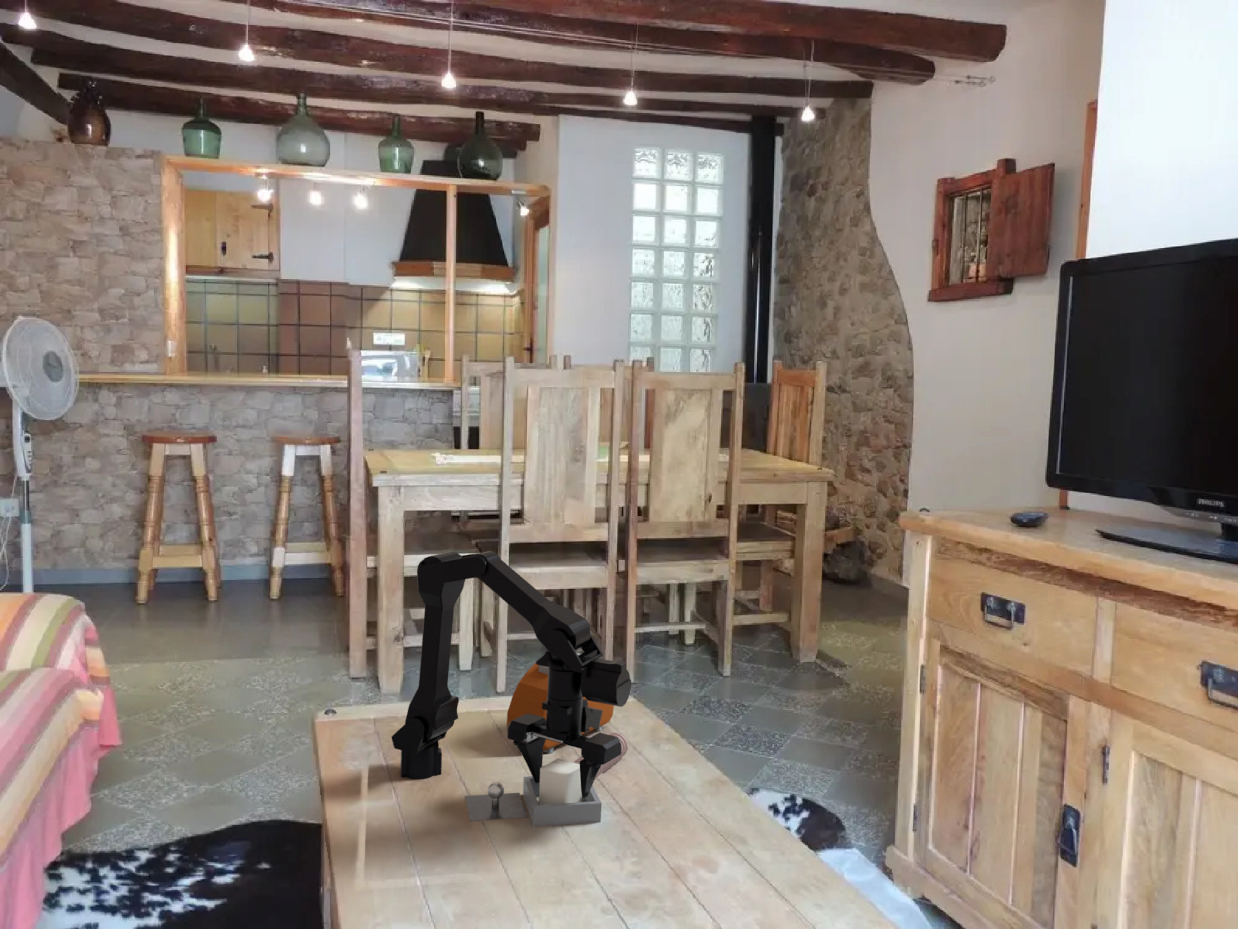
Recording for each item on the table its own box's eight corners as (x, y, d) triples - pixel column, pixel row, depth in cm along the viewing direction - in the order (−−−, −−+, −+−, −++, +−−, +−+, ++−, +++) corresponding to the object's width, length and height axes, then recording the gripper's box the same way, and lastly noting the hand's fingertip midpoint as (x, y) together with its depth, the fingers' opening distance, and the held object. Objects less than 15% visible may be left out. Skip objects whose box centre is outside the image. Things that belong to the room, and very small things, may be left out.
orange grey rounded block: (580, 716, 198) (583, 638, 197) (614, 726, 193) (618, 646, 192) (503, 748, 179) (506, 661, 178) (540, 760, 174) (543, 671, 173)
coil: (589, 769, 161) (631, 735, 177) (565, 760, 163) (609, 728, 179) (586, 794, 162) (628, 759, 178) (562, 786, 163) (606, 751, 180)
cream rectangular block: (564, 818, 149) (566, 775, 149) (538, 810, 152) (540, 768, 151) (581, 807, 154) (583, 765, 153) (556, 799, 156) (558, 758, 156)
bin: (533, 832, 146) (534, 807, 146) (522, 800, 157) (523, 776, 157) (600, 828, 149) (601, 803, 148) (585, 796, 160) (586, 773, 159)
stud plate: (469, 827, 147) (470, 796, 146) (464, 802, 156) (465, 773, 155) (527, 823, 149) (528, 793, 149) (519, 798, 158) (520, 770, 157)
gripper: (640, 694, 153) (636, 787, 155) (546, 672, 163) (543, 760, 164) (604, 713, 144) (599, 812, 145) (506, 688, 153) (503, 781, 155)
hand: (561, 789), depth 153 cm, fingers open, 9 cm apart
